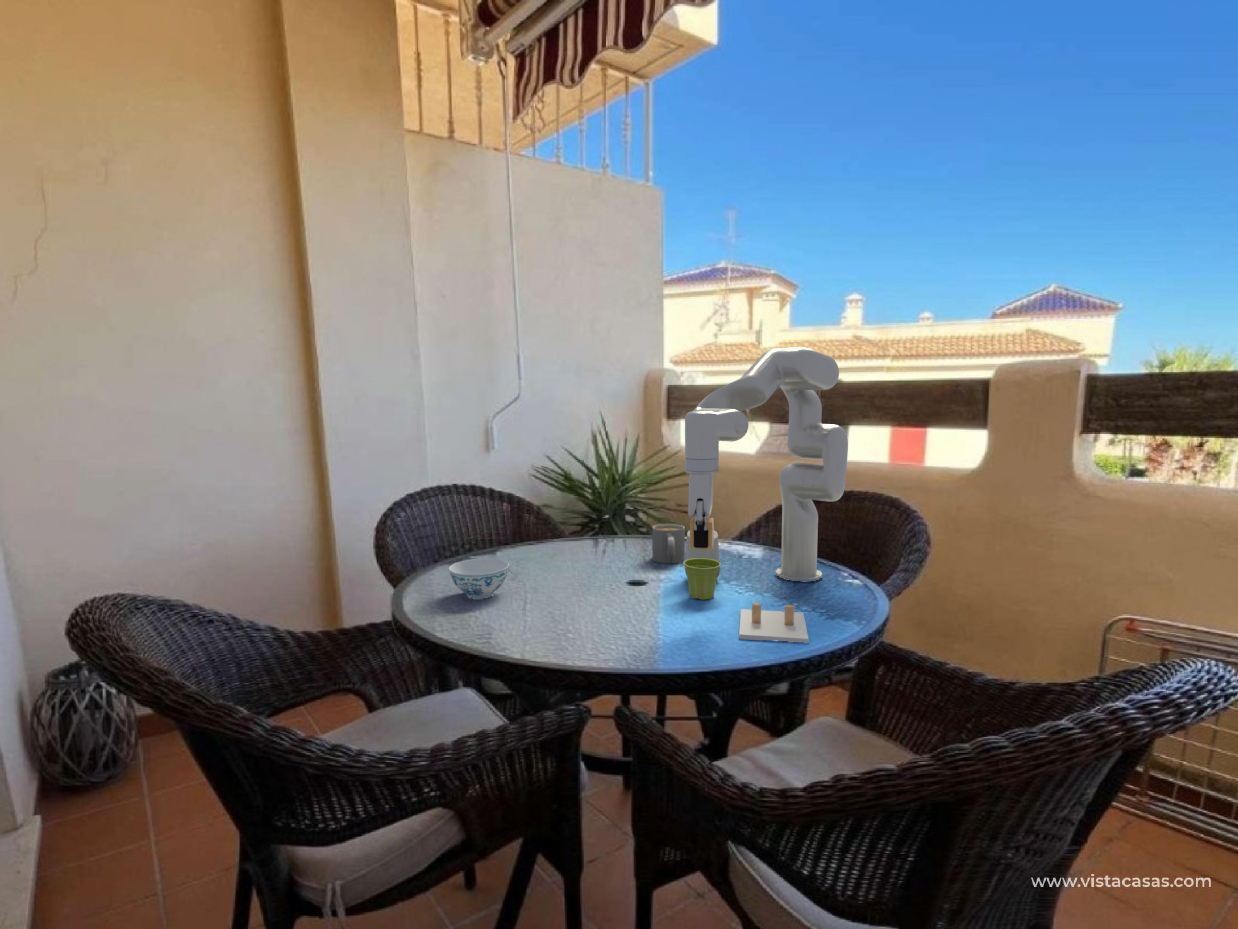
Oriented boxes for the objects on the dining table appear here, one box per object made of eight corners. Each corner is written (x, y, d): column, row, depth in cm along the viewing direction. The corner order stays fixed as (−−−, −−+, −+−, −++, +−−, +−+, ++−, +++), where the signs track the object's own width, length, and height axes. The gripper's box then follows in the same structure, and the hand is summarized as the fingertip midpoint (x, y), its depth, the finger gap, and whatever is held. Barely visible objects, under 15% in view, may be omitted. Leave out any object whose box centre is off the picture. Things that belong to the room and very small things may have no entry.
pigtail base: (741, 613, 153) (741, 592, 152) (803, 616, 150) (803, 595, 149) (739, 638, 137) (739, 615, 137) (808, 643, 134) (808, 620, 134)
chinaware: (478, 583, 179) (477, 555, 178) (521, 591, 171) (520, 563, 170) (437, 599, 166) (436, 569, 165) (482, 608, 158) (480, 577, 157)
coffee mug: (654, 554, 208) (654, 523, 207) (685, 555, 206) (685, 524, 205) (649, 565, 195) (648, 532, 194) (682, 566, 193) (682, 533, 192)
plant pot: (709, 588, 172) (709, 556, 171) (727, 599, 163) (727, 565, 162) (676, 593, 168) (676, 560, 167) (694, 604, 160) (694, 569, 159)
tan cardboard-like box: (692, 543, 153) (691, 517, 152) (713, 544, 152) (713, 517, 151) (689, 548, 148) (689, 521, 147) (712, 549, 147) (712, 522, 146)
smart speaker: (687, 585, 175) (687, 534, 173) (682, 575, 184) (682, 526, 182) (722, 584, 175) (723, 533, 173) (716, 575, 184) (716, 526, 183)
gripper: (689, 461, 157) (689, 535, 159) (681, 470, 140) (681, 553, 143) (720, 461, 155) (720, 536, 158) (716, 470, 139) (716, 554, 141)
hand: (702, 543), depth 150 cm, fingers closed on tan cardboard-like box, 4 cm apart
